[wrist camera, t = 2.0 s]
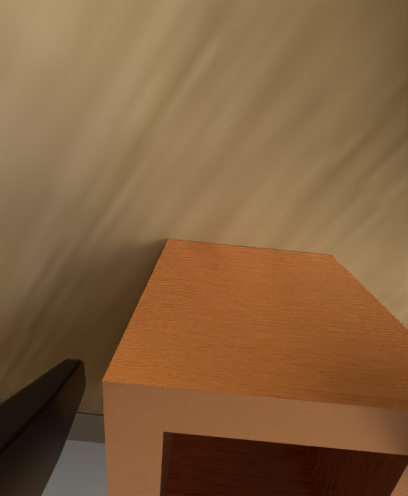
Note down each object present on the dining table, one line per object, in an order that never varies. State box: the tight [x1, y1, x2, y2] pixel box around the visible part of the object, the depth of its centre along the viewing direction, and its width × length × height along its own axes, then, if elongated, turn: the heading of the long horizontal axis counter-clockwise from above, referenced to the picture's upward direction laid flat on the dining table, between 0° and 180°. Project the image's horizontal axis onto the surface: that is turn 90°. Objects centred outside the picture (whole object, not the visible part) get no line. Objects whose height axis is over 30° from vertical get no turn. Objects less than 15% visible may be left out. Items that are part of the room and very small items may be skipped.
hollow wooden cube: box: [102, 239, 408, 496], centre depth 8 cm, size 6×6×6 cm
